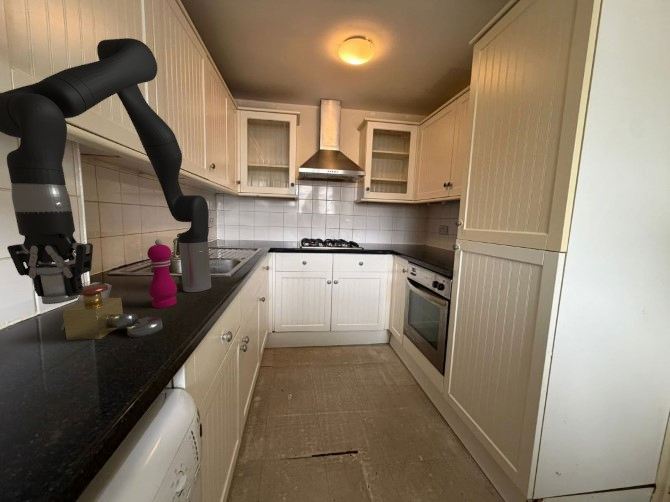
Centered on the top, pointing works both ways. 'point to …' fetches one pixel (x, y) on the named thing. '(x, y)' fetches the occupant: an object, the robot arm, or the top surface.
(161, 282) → the pepper mill
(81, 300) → the hinge
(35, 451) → the top surface
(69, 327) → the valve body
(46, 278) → the door knob
